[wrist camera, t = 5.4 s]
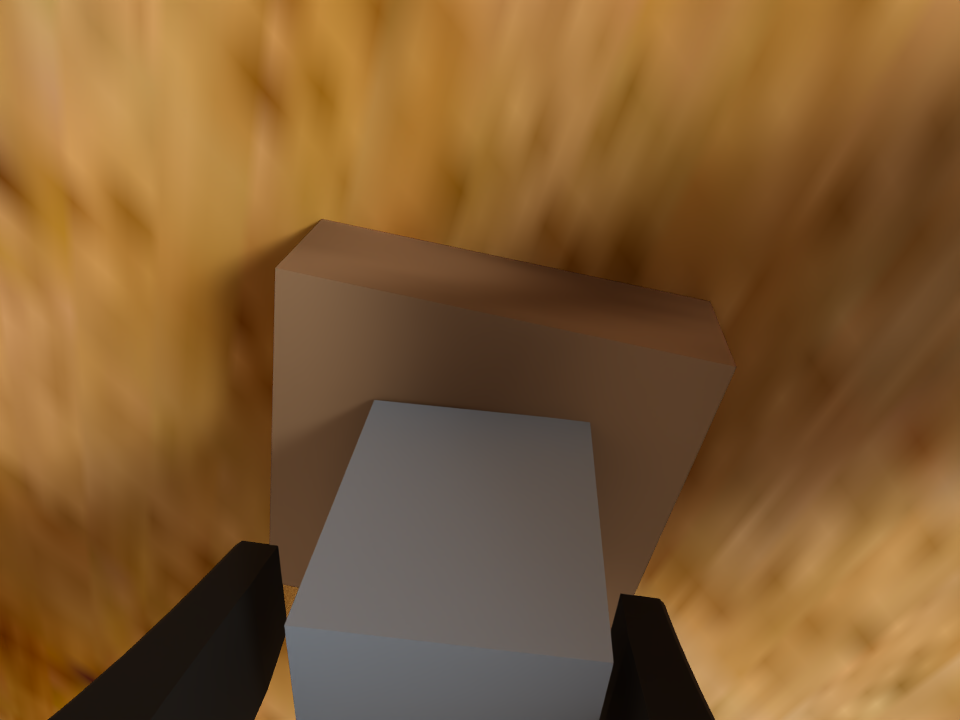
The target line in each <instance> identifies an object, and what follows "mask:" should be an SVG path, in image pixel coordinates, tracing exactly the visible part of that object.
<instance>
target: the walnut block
mask: <svg viewBox="0 0 960 720" xmlns="http://www.w3.org/2000/svg"><path fill="white" fill-rule="evenodd" d="M735 369H736V365H735V362H734V360H733V357H732V355H731V352H730V350H729V347H728V345H727V342H726V340H725V337H724V335H723V332H722V330H721V327H720V325H719V322H718V320H717V317H716V315H715V312H714V310H713V307H712V305H711V303H710V301H705V300H701V299H696V298H691V297H686V296H682V295H677V294H672V293H668V292H663V291H658V290H654V289H649V288H644V287H639V286H635V285H630V284H625V283H621V282H616V281H611V280H607V279H602V278H597V277H592V276H588V275H583V274H578V273H574V272H569V271H564V270H559V269H555V268H550V267H545V266H541V265H536V264H531V263H527V262H522V261H517V260H512V259H508V258H503V257H498V256H494V255H489V254H484V253H480V252H475V251H470V250H465V249H461V248H456V247H451V246H447V245H442V244H437V243H432V242H428V241H423V240H418V239H414V238H409V237H404V236H400V235H395V234H390V233H385V232H381V231H376V230H371V229H367V228H362V227H357V226H353V225H348V224H343V223H338V222H334V221H329V220H324V219H321V221H320V222H319V223H318V224H317V225H316V226H315V227H314V228H313V229H312V230H311V231H310V232H309V233H308V234H307V235H306V236H305V237H304V238H303V239H302V240H301V241H300V243H299V244H298V245H297V246H296V247H295V248H294V249H293V250H292V251H291V252H290V253H289V254H288V255H287V256H286V257H285V258H284V259H283V260H282V261H281V262H280V263H279V265H278V266H277V267H276V268H275V305H274V354H273V402H272V451H271V499H270V545H277V546H278V548H279V557H280V565H281V574H282V583H283V584H284V585H289V586H294V587H298V588H299V587H300V585H301V582H302V580H303V577H304V575H305V572H306V570H307V567H308V565H309V562H310V560H311V557H312V555H313V552H314V550H315V547H316V545H317V542H318V540H319V537H320V535H321V532H322V530H323V527H324V525H325V522H326V520H327V517H328V515H329V512H330V510H331V507H332V505H333V502H334V500H335V497H336V495H337V492H338V490H339V487H340V485H341V482H342V480H343V477H344V475H345V472H346V470H347V467H348V464H349V462H350V459H351V457H352V454H353V452H354V449H355V447H356V444H357V442H358V439H359V437H360V434H361V432H362V429H363V427H364V424H365V422H366V419H367V417H368V414H369V412H370V409H371V407H372V404H373V402H374V400H379V401H389V402H399V403H409V404H419V405H429V406H439V407H449V408H459V409H469V410H479V411H489V412H499V413H509V414H519V415H529V416H539V417H549V418H557V419H566V420H574V421H583V422H590V426H591V437H592V447H593V457H594V467H595V478H596V488H597V498H598V508H599V519H600V529H601V539H602V549H603V560H604V570H605V580H606V591H607V601H608V611H609V621H610V631H611V627H612V624H613V620H614V616H615V612H616V609H617V605H618V601H619V597H620V593H622V594H629V595H634V594H635V592H636V589H637V587H638V585H639V583H640V580H641V578H642V576H643V574H644V572H645V569H646V567H647V565H648V563H649V560H650V558H651V556H652V554H653V552H654V549H655V547H656V545H657V543H658V540H659V538H660V536H661V534H662V531H663V529H664V527H665V525H666V523H667V520H668V518H669V516H670V514H671V511H672V509H673V507H674V505H675V503H676V500H677V498H678V496H679V494H680V491H681V489H682V487H683V485H684V483H685V480H686V478H687V476H688V474H689V471H690V469H691V467H692V465H693V463H694V460H695V458H696V456H697V454H698V451H699V449H700V447H701V445H702V443H703V440H704V438H705V436H706V434H707V431H708V429H709V427H710V425H711V423H712V420H713V418H714V416H715V414H716V411H717V409H718V407H719V405H720V402H721V400H722V398H723V396H724V394H725V391H726V389H727V387H728V385H729V382H730V380H731V378H732V376H733V374H734V371H735Z"/></svg>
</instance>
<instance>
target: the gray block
mask: <svg viewBox="0 0 960 720" xmlns="http://www.w3.org/2000/svg"><path fill="white" fill-rule="evenodd" d="M284 627H285V635H286V643H287V651H288V659H289V667H290V675H291V683H292V691H293V699H294V707H295V715H296V720H599V718H600V714H601V710H602V707H603V703H604V699H605V695H606V691H607V687H608V683H609V679H610V675H611V671H612V667H613V663H614V662H613V652H612V642H611V632H610V621H609V611H608V601H607V591H606V580H605V570H604V560H603V549H602V539H601V529H600V519H599V508H598V498H597V488H596V478H595V467H594V457H593V447H592V437H591V426H590V422H583V421H574V420H566V419H557V418H549V417H539V416H529V415H519V414H509V413H499V412H489V411H479V410H469V409H459V408H449V407H439V406H429V405H419V404H409V403H399V402H389V401H379V400H374V402H373V404H372V407H371V409H370V412H369V414H368V417H367V419H366V422H365V424H364V427H363V429H362V432H361V434H360V437H359V439H358V442H357V444H356V447H355V449H354V452H353V454H352V457H351V459H350V462H349V464H348V467H347V470H346V472H345V475H344V477H343V480H342V482H341V485H340V487H339V490H338V492H337V495H336V497H335V500H334V502H333V505H332V507H331V510H330V512H329V515H328V517H327V520H326V522H325V525H324V527H323V530H322V532H321V535H320V537H319V540H318V542H317V545H316V547H315V550H314V552H313V555H312V557H311V560H310V562H309V565H308V567H307V570H306V572H305V575H304V577H303V580H302V582H301V585H300V587H299V590H298V592H297V595H296V597H295V600H294V602H293V605H292V607H291V610H290V612H289V615H288V617H287V620H286V622H285V625H284Z"/></svg>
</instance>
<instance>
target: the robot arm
mask: <svg viewBox="0 0 960 720" xmlns="http://www.w3.org/2000/svg"><path fill="white" fill-rule="evenodd" d="M286 620H287V618H286V609H285V600H284V592H283V583H282V574H281V565H280V557H279V548H278V546H277V545H269V544H262V543H255V542H248V541H241V542H239V543H238V544H237V545H235V546H234V547H233V548H232V549H231V551H230V552H229V553H228V554H227V555H226V556H225V557H224V558H223V559H222V560H221V561H220V562H219V563H218V564H217V565H216V566H215V567H214V568H213V569H212V570H211V571H210V572H209V573H208V574H207V575H206V576H205V577H204V578H203V579H202V580H201V581H200V582H199V583H198V584H197V585H196V586H195V587H194V588H193V589H192V590H191V591H190V592H189V593H188V594H187V595H186V596H185V597H184V598H183V599H182V600H181V601H180V602H179V603H178V604H177V605H176V606H175V607H174V608H173V609H172V610H171V611H170V612H169V613H168V614H167V615H165V616H164V617H163V618H162V619H161V620H160V621H159V622H158V623H157V624H156V625H155V626H154V627H153V628H152V629H151V630H150V631H149V632H147V633H146V634H145V635H144V636H143V637H142V638H141V639H140V640H139V641H138V642H137V643H136V644H135V645H134V646H133V647H132V648H130V649H129V650H128V651H127V652H126V653H125V654H124V655H123V656H122V657H121V658H119V659H118V660H117V661H116V662H115V663H114V664H113V665H111V666H110V667H109V668H108V669H107V670H106V671H105V672H103V673H102V674H101V675H100V676H99V677H98V678H96V679H95V680H94V681H93V682H92V683H91V684H90V685H88V686H87V687H86V688H85V689H84V690H83V691H82V692H80V693H79V694H78V695H77V696H76V697H75V698H73V699H72V700H71V701H70V702H69V703H68V704H66V705H65V706H64V707H63V708H62V709H60V710H59V711H58V712H57V713H55V714H54V715H53V716H52V717H51V718H49V719H48V720H254V719H255V717H256V715H257V713H258V710H259V708H260V706H261V704H262V701H263V699H264V697H265V694H266V692H267V690H268V687H269V684H270V681H271V678H272V675H273V672H274V669H275V666H276V663H277V660H278V657H279V654H280V650H281V647H282V644H283V641H284V638H285V627H284V625H285V622H286ZM610 632H611V642H612V652H613V662H614V663H613V667H612V671H611V675H610V679H609V683H608V687H607V691H606V695H605V699H604V703H603V707H602V710H601V714H600V718H599V720H715V718H714V716H713V714H712V712H711V711H710V709H709V706H708V704H707V702H706V700H705V698H704V696H703V694H702V692H701V690H700V688H699V685H698V683H697V681H696V679H695V676H694V674H693V672H692V670H691V668H690V665H689V663H688V661H687V659H686V656H685V654H684V652H683V649H682V647H681V645H680V642H679V640H678V637H677V635H676V633H675V630H674V628H673V625H672V623H671V620H670V617H669V615H668V612H667V609H666V607H665V605H664V603H663V602H662V601H661V600H660V599H657V598H650V597H643V596H636V595H629V594H622V593H620V597H619V601H618V605H617V609H616V612H615V616H614V620H613V624H612V627H611V631H610Z"/></svg>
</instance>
